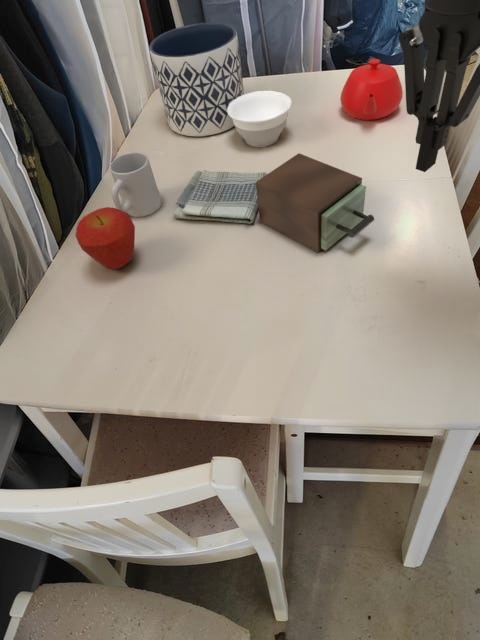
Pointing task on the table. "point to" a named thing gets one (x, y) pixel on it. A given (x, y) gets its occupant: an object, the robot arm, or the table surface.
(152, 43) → the planter
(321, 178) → the cabinet
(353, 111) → the teapot
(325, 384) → the table surface
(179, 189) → the table surface
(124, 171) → the mug
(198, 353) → the table surface
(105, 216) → the apple
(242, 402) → the table surface
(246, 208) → the dish towel
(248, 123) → the bowl
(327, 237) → the drawer
